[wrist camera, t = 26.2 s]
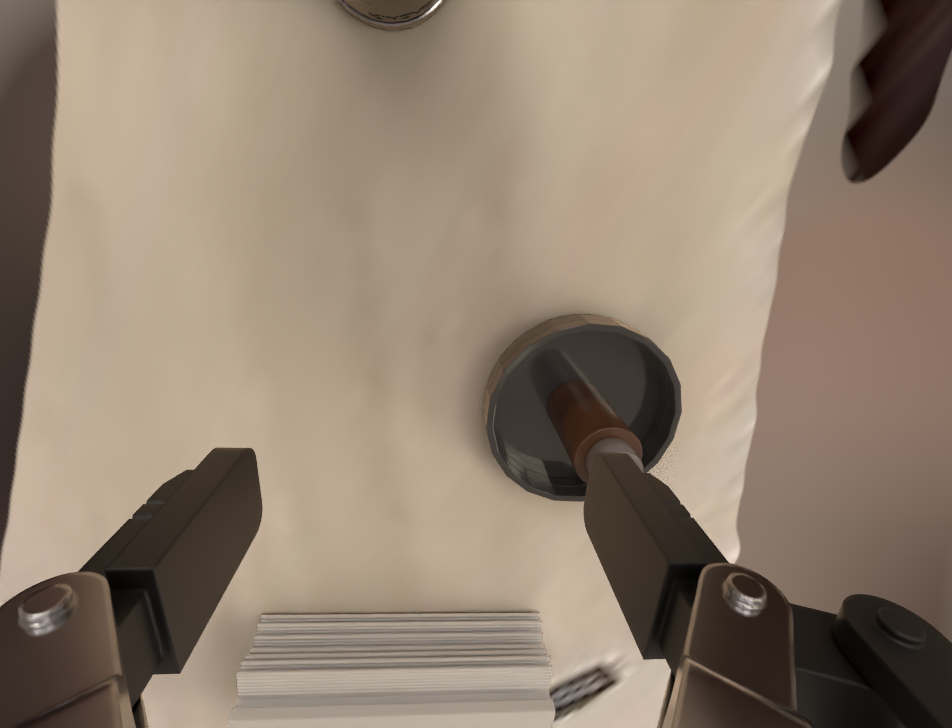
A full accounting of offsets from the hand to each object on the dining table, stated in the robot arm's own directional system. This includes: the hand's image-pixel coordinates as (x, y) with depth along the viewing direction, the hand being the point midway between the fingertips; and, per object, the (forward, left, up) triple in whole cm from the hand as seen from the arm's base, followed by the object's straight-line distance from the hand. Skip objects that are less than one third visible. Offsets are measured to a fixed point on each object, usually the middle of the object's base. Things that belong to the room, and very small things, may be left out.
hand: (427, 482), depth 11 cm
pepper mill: (+14, +10, -28) cm, 33 cm away
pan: (+14, +10, -28) cm, 33 cm away
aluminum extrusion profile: (+42, -14, -28) cm, 53 cm away
